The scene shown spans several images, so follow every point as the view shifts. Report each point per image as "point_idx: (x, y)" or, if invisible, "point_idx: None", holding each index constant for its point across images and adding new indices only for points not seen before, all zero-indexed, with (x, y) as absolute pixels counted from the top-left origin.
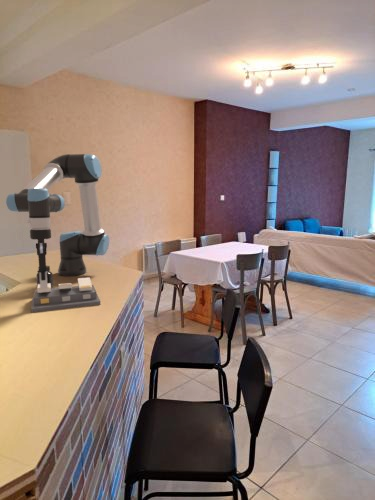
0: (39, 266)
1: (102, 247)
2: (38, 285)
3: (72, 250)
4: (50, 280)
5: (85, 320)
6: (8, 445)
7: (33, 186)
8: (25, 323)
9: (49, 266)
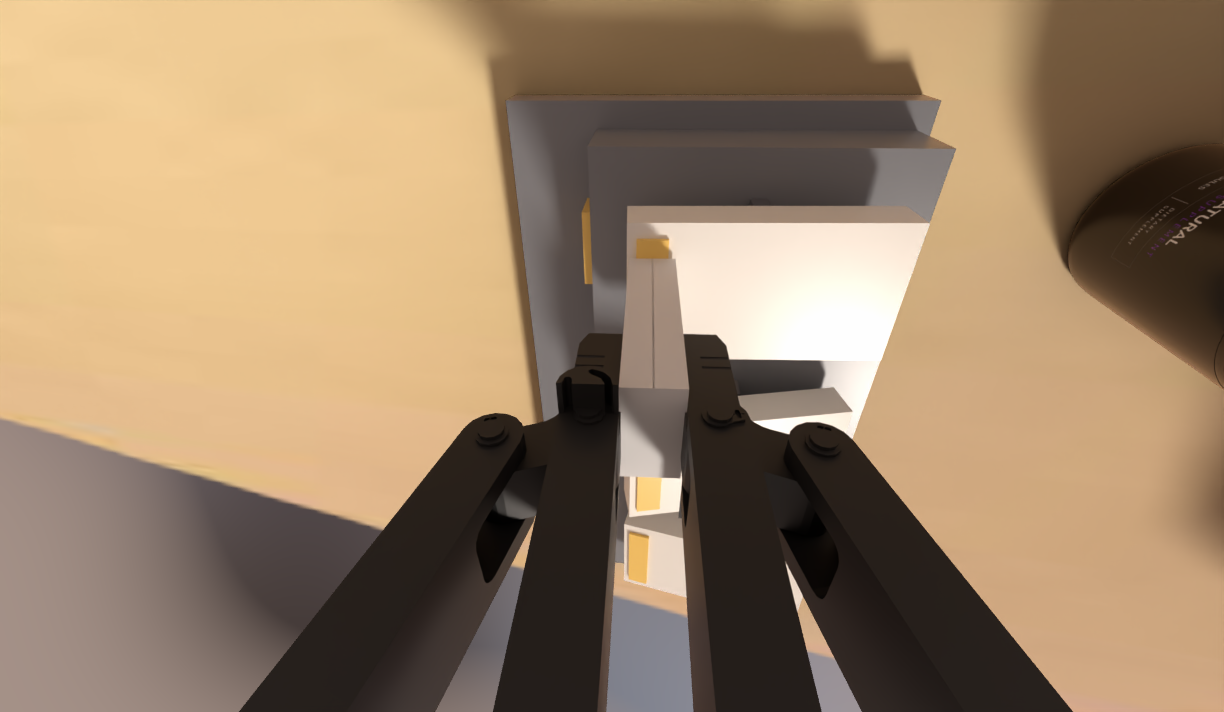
0: (409, 504)
1: None
2: (837, 232)
3: None
4: (1170, 347)
5: (310, 417)
6: None
7: None
8: (243, 55)
9: None
